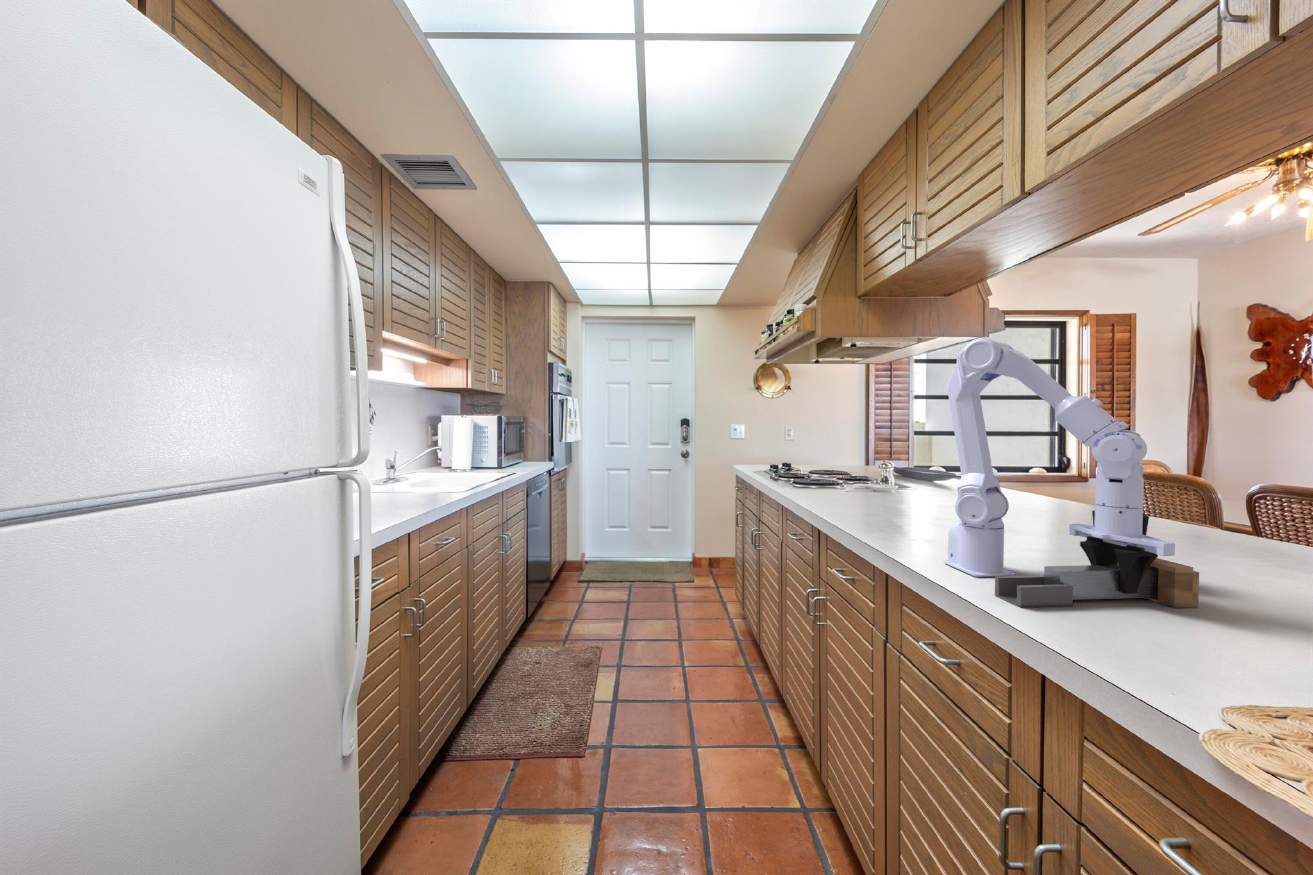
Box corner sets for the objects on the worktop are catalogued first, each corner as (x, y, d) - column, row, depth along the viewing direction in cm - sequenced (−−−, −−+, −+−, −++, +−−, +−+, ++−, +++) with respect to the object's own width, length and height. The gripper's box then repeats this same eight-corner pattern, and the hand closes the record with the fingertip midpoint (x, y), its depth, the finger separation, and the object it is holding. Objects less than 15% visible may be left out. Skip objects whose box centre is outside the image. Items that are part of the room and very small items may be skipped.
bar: (1043, 593, 82) (1044, 565, 82) (1145, 591, 84) (1146, 563, 83) (1059, 600, 79) (1060, 571, 79) (1165, 597, 81) (1166, 569, 80)
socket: (1116, 588, 86) (1117, 552, 86) (1138, 588, 87) (1139, 552, 87) (1174, 608, 77) (1175, 567, 77) (1198, 607, 78) (1199, 567, 78)
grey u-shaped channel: (994, 595, 83) (995, 576, 83) (1043, 594, 84) (1043, 575, 83) (1020, 607, 78) (1021, 587, 78) (1072, 606, 78) (1072, 585, 78)
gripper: (1055, 499, 88) (1053, 576, 88) (1147, 514, 73) (1145, 606, 74) (1089, 498, 89) (1087, 574, 89) (1187, 513, 74) (1184, 603, 75)
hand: (1116, 588), depth 82 cm, fingers closed on bar, 3 cm apart
